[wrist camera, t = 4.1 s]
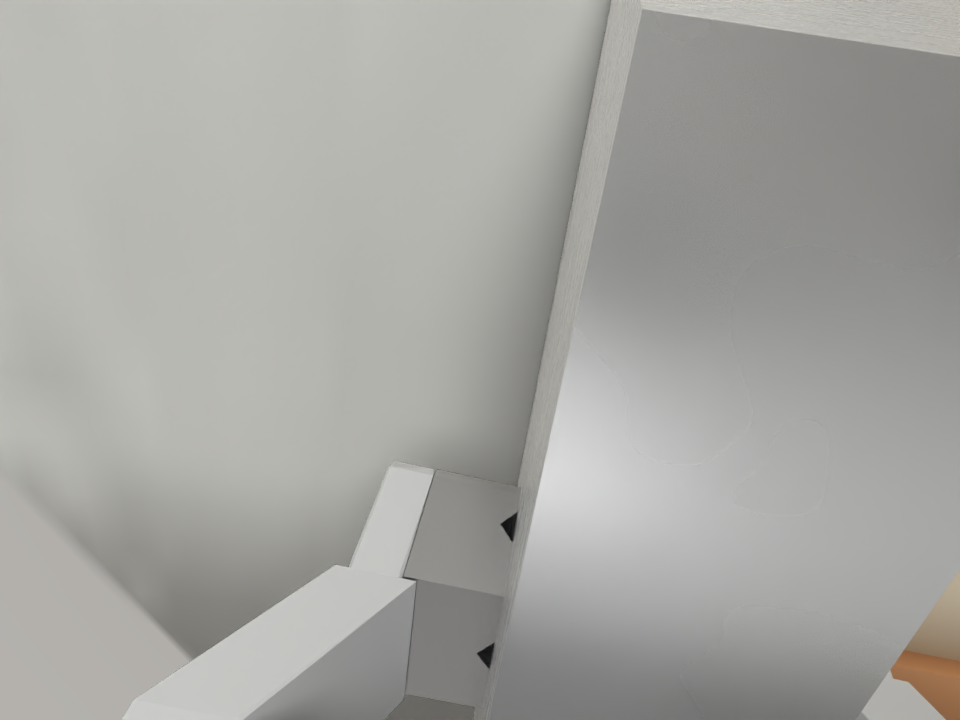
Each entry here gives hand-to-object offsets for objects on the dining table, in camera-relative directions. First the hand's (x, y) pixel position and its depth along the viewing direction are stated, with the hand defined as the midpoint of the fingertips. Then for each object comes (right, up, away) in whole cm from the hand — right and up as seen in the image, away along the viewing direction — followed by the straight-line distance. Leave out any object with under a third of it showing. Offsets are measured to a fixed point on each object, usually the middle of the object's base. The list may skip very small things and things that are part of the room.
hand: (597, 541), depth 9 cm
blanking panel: (0, +1, +2) cm, 2 cm away
